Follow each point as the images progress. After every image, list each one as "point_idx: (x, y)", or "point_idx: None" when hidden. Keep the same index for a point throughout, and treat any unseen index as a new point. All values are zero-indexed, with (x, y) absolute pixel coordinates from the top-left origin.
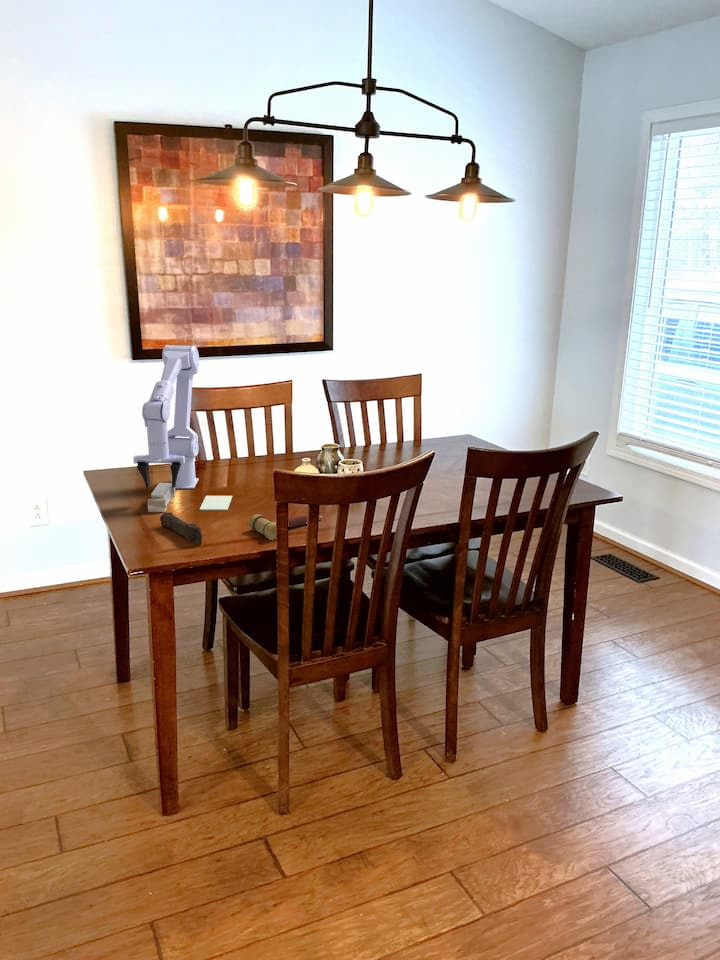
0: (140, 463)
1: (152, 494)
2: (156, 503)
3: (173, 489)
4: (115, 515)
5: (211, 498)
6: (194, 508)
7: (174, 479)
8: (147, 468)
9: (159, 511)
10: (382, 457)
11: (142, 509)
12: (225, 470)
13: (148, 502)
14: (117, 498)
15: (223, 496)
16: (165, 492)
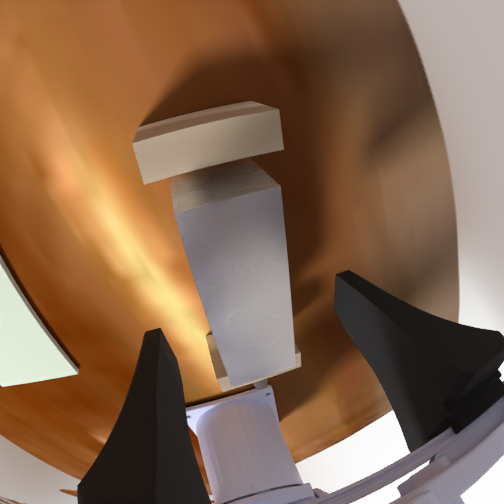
0: (487, 395)
1: (269, 185)
2: (202, 120)
3: (216, 364)
4: (396, 39)
5: (35, 355)
6: (19, 238)
7: (135, 384)
8: (409, 397)
9: (179, 117)
10: (2, 501)
11: (299, 136)
12: None
13: (265, 107)
14: (422, 246)
15: (18, 378)
16: (190, 267)
